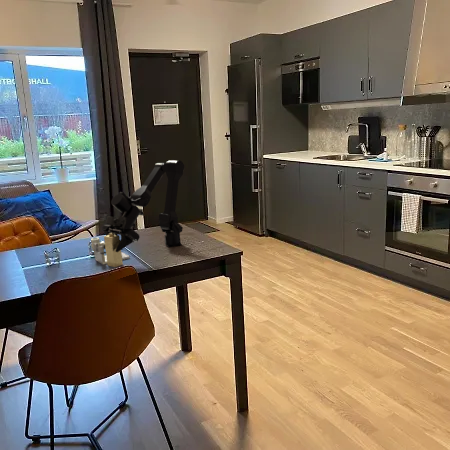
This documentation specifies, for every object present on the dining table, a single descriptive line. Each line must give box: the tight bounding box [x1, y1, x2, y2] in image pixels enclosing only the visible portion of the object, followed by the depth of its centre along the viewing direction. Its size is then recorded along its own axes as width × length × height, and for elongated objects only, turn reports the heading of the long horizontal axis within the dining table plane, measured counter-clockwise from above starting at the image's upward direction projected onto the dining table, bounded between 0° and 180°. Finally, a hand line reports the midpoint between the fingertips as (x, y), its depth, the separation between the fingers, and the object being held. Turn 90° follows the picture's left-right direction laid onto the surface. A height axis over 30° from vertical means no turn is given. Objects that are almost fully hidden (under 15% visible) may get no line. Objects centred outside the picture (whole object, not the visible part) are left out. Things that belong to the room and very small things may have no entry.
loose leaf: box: [103, 233, 124, 268], centre depth 196 cm, size 4×5×14 cm
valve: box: [90, 237, 105, 251], centre depth 218 cm, size 7×7×12 cm
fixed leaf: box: [93, 243, 130, 266], centre depth 204 cm, size 12×9×8 cm
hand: (110, 250), depth 195 cm, fingers open, 8 cm apart
